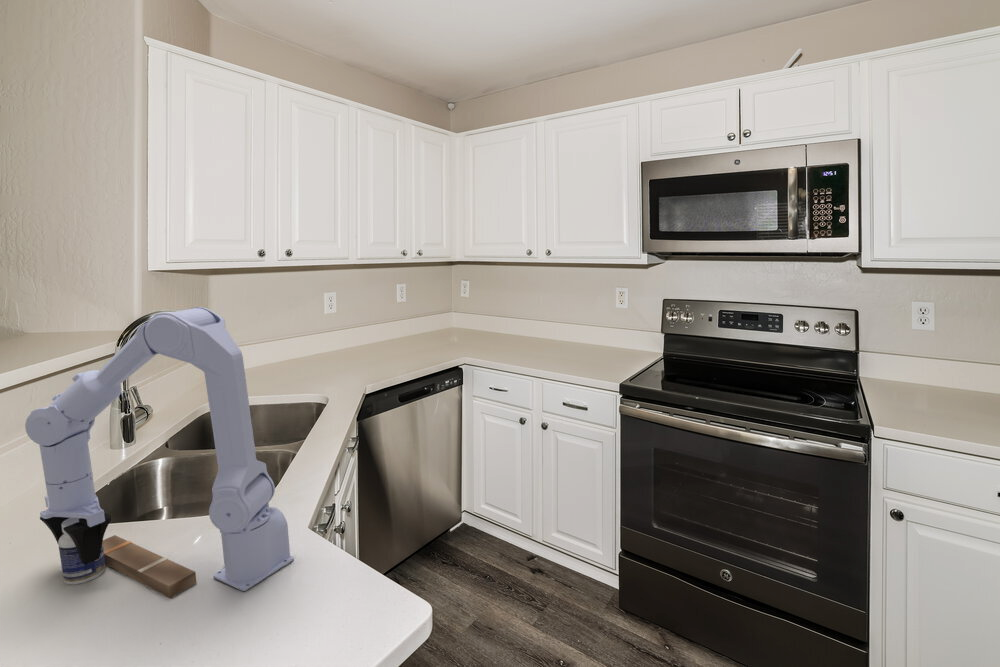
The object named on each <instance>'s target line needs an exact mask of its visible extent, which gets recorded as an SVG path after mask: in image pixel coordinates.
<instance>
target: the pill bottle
mask: <svg viewBox="0 0 1000 667" xmlns="http://www.w3.org/2000/svg"><path fill="white" fill-rule="evenodd" d="M79 519H80V518H69V519H67V520H65V521H63V522H62V531H63V533H64V534H63V535H62V536H61V537H60V538H59V541H58V543H57V545H58V551H59V556H60V564H61V572H62V578H63V581H64V583H65V584H66V585H71V586H72V585H79V584H83V583H87V582H90V581H92V580H94V579H96V578H98V577H100V576H102V574H104V572H105V571H106V569H107V568H106V566H107V565H106V564H105V557H104V549H103V542H102V548H101V554H100V558H99V559H97V560H95V561H93V562H91V563H88V564H86V565H84V564H83V563H82V562H81V560H80V557H79V555H78V552H77V548H76V546H75V544H74V542H73V540H72V538H71V537H70V536H69V535H68V534H67V533H66V532H65V531H64V529H63V528H64V527H67V526H69V525H72V524H74V523H77V522H79Z"/></svg>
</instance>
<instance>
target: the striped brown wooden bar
mask: <svg viewBox="0 0 1000 667" xmlns="http://www.w3.org/2000/svg"><path fill="white" fill-rule="evenodd" d="M103 549H104V557H105V564H106V566H107V567H110V569H113V570H115V571H117V572H118V573H120V574H123V575H125V576H126V577H128V578H129V579H132V580H134V581H136V582H138V583H140V584H142V585H144V586H146V587H147V588H150V589H151V590H154V591H155V592H157V593H159V594H162V595H163V596H164V597H165V596H166V597H168V598H169V599H172V598H174V597H176V596H177V595H179V594H181V593H182V592H184V591H186V590H188V589H189V588H191V587H193V586H194V585H197V583H198V582H197V575H196V571H194V570H192V569H191V568H188V567H187V566H183V565H181V564H180V563H177V562H175V561H173V560H171V559H169V558H168V557H165V556H162V555H160V554H157V553H155V552H153V551H151V550H148V549H146V548H144V547H141V545H138V544H135V543H133V541H130V540H126V539H124V538H122V537H120V536H117V535H112V536H110V537H107V538H105V539H103Z"/></svg>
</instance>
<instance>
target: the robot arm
mask: <svg viewBox="0 0 1000 667" xmlns="http://www.w3.org/2000/svg"><path fill="white" fill-rule="evenodd" d="M157 355H161V356H164V357H168V358H172V359H175V360H178V361H181V362H186V363H189V364H190V365H192V366H194V367H196V368H197V369H199V370H201V371H202V372H203V373H204V380H205V384H206V393H207V399H208V406H209V413H210V421H211V427H212V434H213V441H214V448H215V455H216V462H217V467H218V471H217V473H216V477H215V479H214V482H213V485H212V487H211V488H212V489H211V493H212V494H211V495H212V501H211V503H210V505H209V509H208V515H209V518H210V519H209V520H210V522H211V523H212V524H213V526H215V527H216V529H218V530H219V533H220V535H221V536H220V537H221V545H222V554H223V555H222V557H223V568H222V569H219V570H218V571H216V572H214V573H213V575H212V577H213V578H214V579H215V580H218V581H220V582H222V583H225V584H227V585H229V586H231V587H233V588H235V589H238V590H240V591H241V592H242V591H243V592H244V591H247V590H249V589H250V588H252V587H253V586H255V585H257V584H258V583H260V582H261V581H263V580H265V579H266V578H267V577H269V576H271V575H272V574H274V573H276V572H277V571H279V570H280V569H282V568H283V567H285V566H287V565H288V564H289V563H291V562H293V561H294V556H293V555H292V556H291V549H290V536H289V526H288V521H287V519H286V517H285V515H284V513H283V512H282V511H281V510H280V509H279V508H277V507H275V506H271V507H270V504H269V503H270V502H271V500H272V499H273V497H274V495H275V492H276V491H275V490H276V488H275V487H276V486H275V482H274V480H273V479H272V477H271V476H270V475H269V473H268V470H267V468H268V467H267V464H266V463H265V462H264V461H263V462H262V461H261V460H258V459H257V453H256V446H255V439H254V431H253V425H252V417H251V408H250V402H249V393H248V387H247V379H246V372H245V363H244V356H243V353H242V351H241V349H240V347H239V346H238V344H237V343H236V342H235V340H234V339H233V337H232V336H231V334H230V333H229V331H228V329H227V328H226V321H225V317H222V316H221V315H219V314H218V313H216V312H214V311H213V310H211V309H209V308H206V307H204V306H195V307H192V308H191V307H190V308H189V309H183V310H177V311H171V312H168V311H167V312H159V313H156V314H154V315H153V316H151V317H150V318H149V320H147V321H146V323H143V324H141V325H139V327H137V329H136V331H135V333H134V335H133V336H132V337H131V338H130V339H129V340H127V342H126V343H125V344H124V345H123V346H122V347H121V348H120V349H119V350H118V351H117V352H116V353H115V354H114V355H113V356H112V357H111V358H110V359H109V360H108V361H107V362H106V364H104V366H103V367H101V368H100V370H98V369H95V370H92V369H91V370H87V371H86V372H85V371H83V372H80V373H76V374H75V375H74V376H73V377H71V380H72V381H73V383H72V384H71V385H70V386H68V387H67V388H66V389H65V390H64V391H63V392H62V393H58V394H55V395H54V396H52V398H51V399H52V401H51V403H50V405H49V406H47V407H46V406H45V407H39V408H36V409H33V410H32V411H31V412H30V414H29V415H28V417H27V418H26V420H25V425H24V426H25V433H26V434H27V436H28V437H29V439H30V440H31V441H33V442H34V443H35V444H37V445H39V450H40V456H41V463H42V470H43V476H44V483H45V489H46V495H45V496H44V500H45V506H46V508H47V509H45V510H43V511H41V512H40V515H39V516H40V517H39V519H40V521H42V523H44V524H45V526H46V527H47V528H48V529H49V530H50V531H51V533H52V535H53V536H54V539H55V541H56V542H57V544H58V541H59V538H60V537H61V536H62V535H63V534H64V533H63V531H62V522H63V521H65V520H67V519H69V518H80V519H79V522H77V523H74V524H72V525H69V526H67V527H64V528H63V529H64V531H65V532H66V533H67V534H68V535H69V536H70V537H71V538H72V540H73V542H74V544H75V546H76V548H77V552H78V555H79V557H80V560H81V562H82V563H83V564H84V565H86V564H88V563H91V562H93V561H95V560H97V559H99V558H100V554H101V548H102V542H103V540H104V537H105V533H106V531H107V528H108V526H109V524H110V522H111V521H112V515H110V514H108V513H105V511H104V509H102V508H101V506H100V501H99V498H98V496H97V495H96V489H95V483H94V475H93V469H92V461H91V454H90V447H89V441H90V440H91V434H90V433H91V430H92V428H93V426H94V425H95V421H96V418H97V416H98V415H100V414H101V413H102V412H103V411H104V410H105V409H107V408H108V407H109V406H110V405H111V404H112V403H113V402H114V401H115V400H116V399H118V398H119V397H120V395H121V393H122V385H121V384H122V383H124V381H125V380H127V379H128V378H129V377H131V376H132V375H133V374H134V373H135V372H137V371H138V370H139V369H140V368H142V367H143V366H144V365H146V363H148V362H149V361H150V360H152V359H153V358H154V357H156V356H157Z"/></svg>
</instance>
